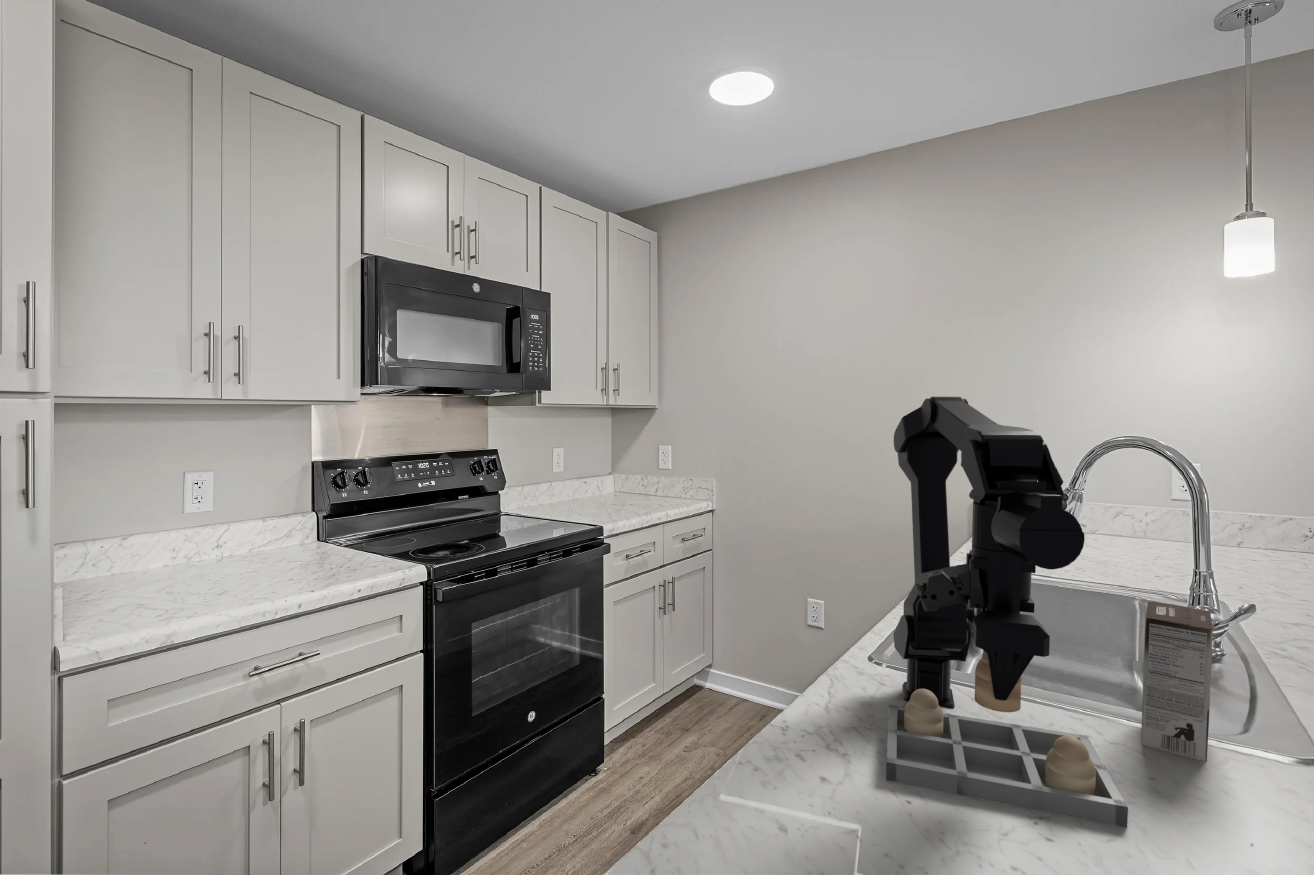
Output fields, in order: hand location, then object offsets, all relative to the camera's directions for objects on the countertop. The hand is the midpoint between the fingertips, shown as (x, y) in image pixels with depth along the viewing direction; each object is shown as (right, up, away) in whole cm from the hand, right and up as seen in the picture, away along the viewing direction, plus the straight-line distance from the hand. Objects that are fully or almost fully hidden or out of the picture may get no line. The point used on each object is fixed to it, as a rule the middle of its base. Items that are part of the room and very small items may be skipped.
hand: (997, 690), depth 70 cm
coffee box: (+27, -11, +10) cm, 31 cm away
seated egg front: (+6, -10, -2) cm, 12 cm away
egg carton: (+1, -10, +4) cm, 11 cm away
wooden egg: (0, -1, 0) cm, 1 cm away
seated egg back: (-4, -10, +9) cm, 14 cm away
